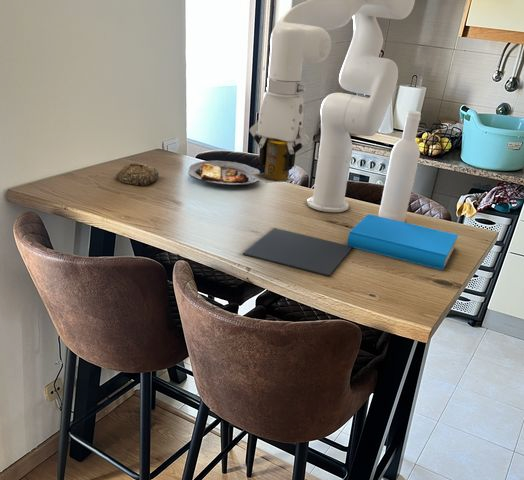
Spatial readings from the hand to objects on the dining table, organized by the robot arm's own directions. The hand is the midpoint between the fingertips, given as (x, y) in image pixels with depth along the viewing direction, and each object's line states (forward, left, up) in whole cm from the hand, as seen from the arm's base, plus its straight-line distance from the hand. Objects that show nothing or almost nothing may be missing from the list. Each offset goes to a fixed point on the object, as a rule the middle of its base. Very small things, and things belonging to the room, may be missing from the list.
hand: (276, 166), depth 139 cm
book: (-11, +33, -18) cm, 39 cm away
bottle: (-30, +26, -18) cm, 44 cm away
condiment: (0, -1, -3) cm, 3 cm away
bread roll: (-17, -53, -18) cm, 58 cm away
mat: (+7, +11, -17) cm, 22 cm away
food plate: (-36, -32, -18) cm, 51 cm away
